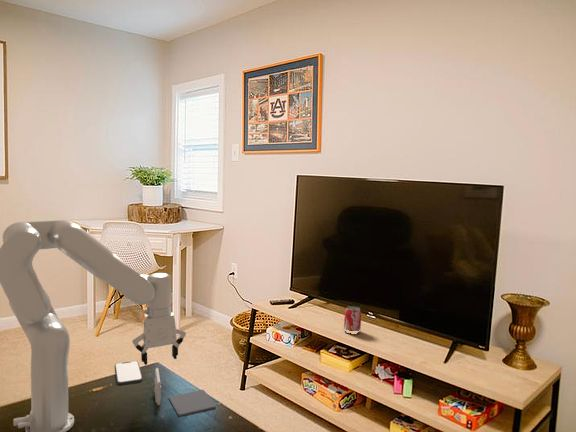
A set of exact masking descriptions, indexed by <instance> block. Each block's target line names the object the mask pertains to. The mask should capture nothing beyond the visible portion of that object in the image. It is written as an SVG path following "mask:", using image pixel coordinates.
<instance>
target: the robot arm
mask: <svg viewBox="0 0 576 432" xmlns="http://www.w3.org/2000/svg"><path fill="white" fill-rule="evenodd" d="M2 242H3V243H2V245H1V246H0V286H1V288H2V289H3V292H4V294H5V296H6V298H7V299H8V305H9V307H10V309H11V311H12V312H13V314H14V316H15V318H16V319H17V322H18V323H19V325H20V327H21V328H22V330H23V332H24V334H25V336H26V339H27V340H28V342H29V344H30V350H31V351H30V353H31V355H30V356H31V357H30V358H31V359H30V397H31V398H30V401H31V403H30V405H31V406H30V407H31V409H30V411H29V412H30V413H29V414H26V416H23V417H16V418H15V417H14V418H13V427H16V426H17V429H23V428H25V432H67V431H69V430H70V429H71V428H72V427H73V426H74V424H75V416H74V415H73V414H72V413H70V412H69V351H70V342H71V340H70V339H71V338H70V334H69V331H68V329H67V327H66V326H65V325H64V323H63V322H62V320H61V319H59V317H58V315H57V313H56V311H55V309H54V307H53V305H52V303H51V299H50V298H51V297H50V296H49V294H48V292H47V291H46V290H45V289H44V288H43V286H42V283H41V282H40V280H39V278H38V276H37V273H36V271H35V269H34V266H33V260H34V257H36V254H38V252H39V250H49V249H50V250H51V249H58V251H60V252H61V253H62V254H64V255H66V257H69V258H70V259H71V260H72V261H74V262H76V264H77V265H79V266H80V267H82V268H83V269H85V270H86V271H87V272H89V273H90V274H91V275H93V276H94V277H95V278H97V279H99V280H101V281H102V282H104V283H106V284H108V285H109V286H110V287H112V288H113V289H115V290H116V291H118V293H120V294H121V295H123V297H125V298H127V299H128V300H130V301H131V302H133V304H135V305H138V306H145V305H146V308H145V309H142V314H145V316H144V323H143V331H142V332H143V333H142V334H140V335H138V336H137V337H135V338H134V339H132V341H131V342H132V344H133V346H134V347H135V349H136V350H137V351H139V352H141V354H140V355H141V356H140V357H141V359H140V360H141V362H142V363H143V364H144V366H147V365H148V353H147V351H148V349H152V348H153V349H154V348H158V347H159V348H161V347H164V346H170V345H172V346H171V356H172V357H173V359H174V360H177V357H178V356H179V347H180V345H181V344H182V343H183V342H184V338H185V337H186V335H187V332H186V331H184V330H181V329H178V328H177V327H176V326H177V325H176V319H175V315H174V312H172V282H171V281H172V279H171V275H170V274H168V273H166V272H155V273H151V274H139V273H138V272H137V271H136V270H135V269H133V268H132V267H131V266H129V265H128V264H127V263H126V262H124V260H123V259H121V258H120V257H119V256H118V255H116V254H115V252H113V251H111V249H109V248H108V247H106V246H105V245H104V244H103V243H101V242H100V241H98V239H96V238H95V237H94V236H92V234H90V233H88V232H87V230H85V229H83V228H82V227H81V226H79V225H78V224H76V223H74V222H72V221H71V220H70V221H69V220H63V219H62V220H60V219H58V220H41V221H40V220H39V221H17V222H13V223H12V224H10V225H8V226H7V227H6V228H5V230H4V231H3V233H2ZM177 335H178V336H179V337H178V338H177ZM142 340H143V344H142V345H140V344H139V343H140V341H142Z"/></svg>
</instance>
